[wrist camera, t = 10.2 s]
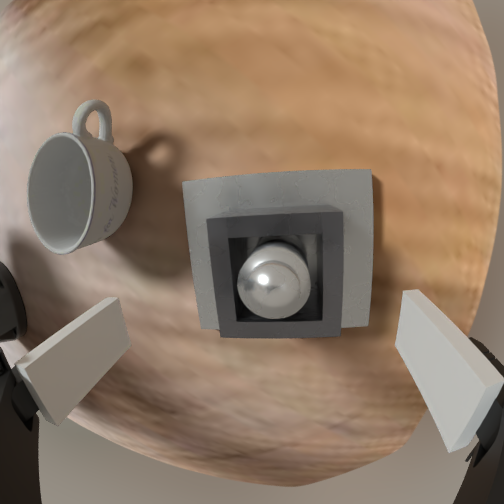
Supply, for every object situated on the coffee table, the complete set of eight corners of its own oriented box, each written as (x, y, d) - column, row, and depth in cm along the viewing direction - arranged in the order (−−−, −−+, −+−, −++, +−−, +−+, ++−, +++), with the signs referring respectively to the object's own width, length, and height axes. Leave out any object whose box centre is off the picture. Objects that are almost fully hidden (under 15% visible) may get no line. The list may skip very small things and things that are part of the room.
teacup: (119, 256, 27) (70, 280, 20) (62, 204, 27) (13, 213, 20) (181, 141, 23) (136, 126, 16) (111, 99, 23) (62, 82, 16)
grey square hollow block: (237, 303, 25) (220, 337, 19) (228, 210, 23) (206, 218, 17) (331, 301, 23) (340, 336, 17) (330, 204, 21) (342, 211, 16)
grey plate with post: (205, 321, 27) (168, 377, 18) (188, 181, 24) (131, 182, 15) (364, 318, 25) (390, 379, 16) (366, 170, 22) (408, 162, 12)
